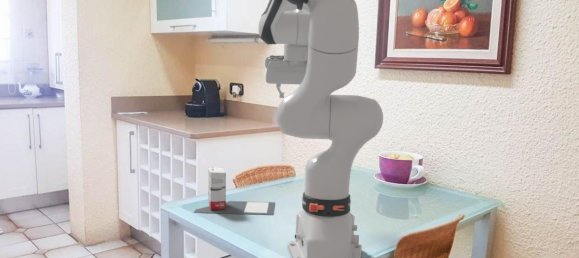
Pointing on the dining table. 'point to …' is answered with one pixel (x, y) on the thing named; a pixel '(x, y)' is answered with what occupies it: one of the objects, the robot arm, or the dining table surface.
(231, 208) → the mat
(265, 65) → the robot arm
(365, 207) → the dining table surface
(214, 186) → the ink box
